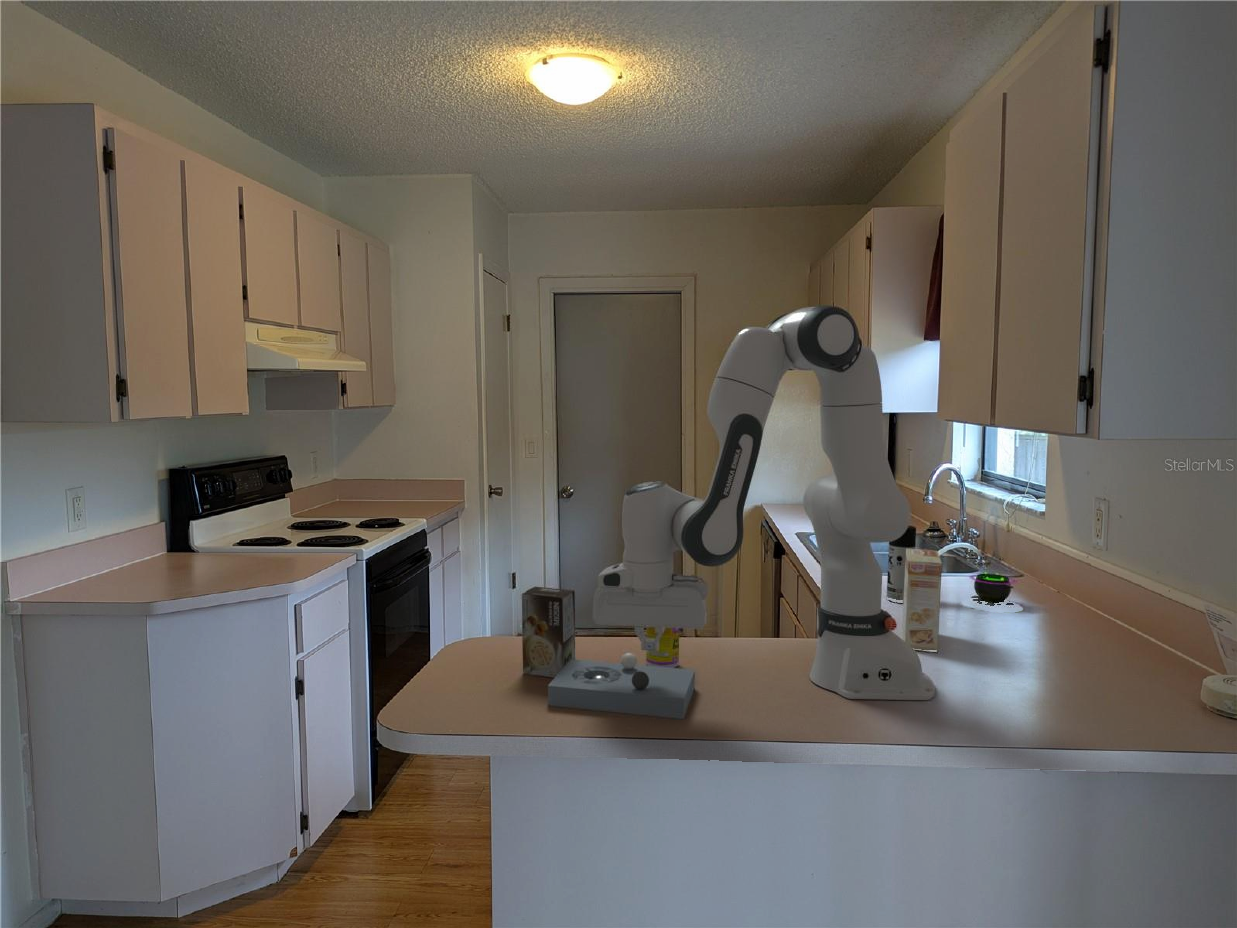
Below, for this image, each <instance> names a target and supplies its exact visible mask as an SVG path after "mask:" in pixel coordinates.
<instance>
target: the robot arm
mask: <svg viewBox="0 0 1237 928" xmlns="http://www.w3.org/2000/svg"><path fill="white" fill-rule="evenodd" d="M795 370H797V371H812V372H813V373H814V374H815V376H816V378H817V381H818V383H819V389H820V390H819V393H820V394H819V405H820V406H819V407H820V411H819V412H820V440H821V441H820V442H821V443H820V444H821V448H822V450H823V452H824V454H825V455H826V456H827V458H828V460H829V462H830V464H831V466H832V470H833V473H834V474H833V475H826V476H821V477H818V478H816V479H814V480H812V481H811V483H809V484H808V485H807V487H806V489H805V490H804V493H803V500H802V502H803V504H802V505H803V509H804V511H805V513H806V515H807V518H808V519H809V520H810V522H811V525H812V528H813V532H814V537H815V541H816V545H817V546H816V547H817V550H818V555H819V561H820V603H819V604H818V606H817V612H816V613H817V614H816V633H817V635H818V637H817V644H816V650H815V655H814V660H813V662H812V666H811V669H810V673H809V679H810V681H812V682H813V684H815V685H817V686H819V687H821V688H823V689H826V690H829V691H832V692H834V693H837V694H839V695H840V696H842V697H844V698H846V699H850V700H851V699H852V700H893V701H894V700H895V701H896V700H897V701H901V700H902V701H930V700H932V699H933V698H934V696H935V694H936V691H935V690H936V688H935V683H934V681H933V680H932V678H931V677H930V676H928V674H926V673H925V672H923V667H922V663H921V660H920V657H919V655H918V653H917V652H916V650H914V649H913V648H912V647H911V646H910V645H908V644H907V643H906V642H905V641H903V638H901V637H900V636H898V635H897V634H896V633H895V632H894V631H895V630H896V629H897V627H898V625H897V623H898V622H897V621H896V619H895V618H894V617H892V615H891V614H890V613H889V612H888V611H887V610H886V609H885V610H883V609H882V594H883V593H882V592H883V591H882V590H883V589H882V588H883V571H882V567H881V565H880V563H879V561H878V560H877V558H876V557H875V553H874V552H873V549H872V545H871V543H877V544H878V543H879V544H880V543H882V544H883V543H889V542H891V541H894V540H896V539H898V538H900V537H901V536H902V535H903V534H904V533H905V531H906V530H907V528H908V526H910V523H911V519H912V510H911V505H910V503H909V500H908V499H907V497H906V496H905V495H904V494H903V492H902V491H901V490H900V488H899V486H898V485H897V482H896V481H895V478H894V474H893V472H892V468H891V467H890V463H889V460H888V455H887V452H886V448H885V437H884V436H885V435H884V418H883V415H884V414H883V392H882V391H883V390H882V381H881V375H880V374H881V373H880V369H879V365H878V361H877V357H876V354H875V353H874V351H873V350H872V349H871V348H870V347H868V346H866V345H863V341H862V339H861V337H860V332H859V329H858V327H857V324H856V321H855V320H854V318H853V316H852V315H851V314H850V312H848V311H847V310H846V309H843V308H842V307H839V306H835V305H830V304H829V305H828V304H822V305H817V306H807V307H803V308H799V309H796V310H795V311H793V312H790V313H785V314H782V315H779V316H778V317H776V318H775V319H774V320H773V321H771V322H770V323H769V324H768V325H767V326H766V327H761V326H751V327H750V326H749V327H745V328H744V329H741V330H740V331H739V332H738V333H737V334H736V335H735V336H734V339H733V340H732V342H731V343H730V345H729V347H728V349H727V351H726V352H725V354H724V356H723V359H722V362H721V363H720V365H719V368H718V371H717V373H716V376H715V378H714V381H713V384H712V386H711V388H710V392H709V397H708V401H707V408H706V415H707V418H708V421H709V422H710V425H711V426H712V428H713V429H714V431H715V434H716V435H717V439H718V445H719V449H718V450H719V453H718V458H717V461H716V465H715V468H714V471H713V475H712V478H711V481H710V485H709V488H708V493H707V494H706V497H705V499H702V498H700V497H696V496H695V497H694V496H691V495H689V494H686V493H684V492H681V491H679V490H676V489H675V488H673V487H672V486H669V485H668V484H667V483H666V482H665V481H659V480H658V481H655V480H654V481H647V482H642V483H639V484H636V485H633V486H632V487H630V488H629V489H627V491H626V492H625V494H624V496H623V501H622V511H621V534H622V537H623V541H624V542H623V543H624V550H623V554H622V562H621V563H620V562H619V563H617V564H614V565H610V566H608V567H606V568H604V569H603V570H602V571H600V573H599V574H598V576H597V585H598V588H597V589H596V590H595V592H594V595H593V599H592V601H593V602H592V620H593V621H594V623H595V624H596V625H597V626H617V627H618V626H619V627H620V626H621V627H634V633H635V635H636V636H637V638H638V639H639V641H640V642H641V643H640V645H641V646H640V647H641V648H640V649H641V651H646V650H648V651H658V650H659V639H660V637H661V636H662V634H663V632H664V630H665V628H679V629H687V630H688V629H689V630H690V629H693V630H700V629H702V628H703V627H704V626H705V625H706V623H707V617H708V616H707V614H708V613H707V606H706V599H707V597H708V584H707V582H706V580H705V579H703V578H702V577H699V575H697V574H690V575H687V574H676V573H675V574H674V555H673V554H674V553H675V552H676V551H684V552H685V553H686V554H687V555H688V556H689V557H690V558H691V559H692V560H693V561H694V562H695V563H697V564H698V565H701V566H705V567H711V568H712V567H720V566H723V565H725V564H726V563H728V562H730V561H732V559H733V558H734V557H735V556H737V554H738V553H739V550H740V549H741V547H742V544H743V540H744V510H745V505H746V502H747V501H746V500H747V497H748V494H749V491H750V486H751V483H752V479H753V476H754V473H755V469H756V464H757V463H758V457H759V454H760V450H761V447H762V440H763V435H764V429H765V426H766V423H767V420H768V417H769V414H770V411H771V408H772V405H773V403H774V400H775V397H776V394H777V392H778V388H779V385H780V382H781V381H782V379H783V377H784V376H785V374H786V372H788V371H795ZM646 627H655V633H658V635H657V636H656V638H655V639H650V638H646V634H645V632H644V630H645V628H646Z"/></svg>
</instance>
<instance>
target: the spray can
mask: <svg viewBox="0 0 1237 928" xmlns="http://www.w3.org/2000/svg"><path fill="white" fill-rule="evenodd" d="M916 539H917V527H916V526H913V525H909V526H908V528H907V530H906V531H905V533H904V534H903V535H902V536H901V537H900V538H898V539H896V540H894V541H891V542H888V559H887V560H888V561H887V581H886V583H887V584H886V598H887V597H888V598H892V599H896V600H903V601H904V579H905V560H906V549H916V548H917V545H916V543H917V540H916Z"/></svg>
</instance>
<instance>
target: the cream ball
mask: <svg viewBox="0 0 1237 928" xmlns="http://www.w3.org/2000/svg"><path fill="white" fill-rule="evenodd" d="M620 663H621V664H622V666H623V667H624V668H625V669H633V668H634V667H635V666H636V665H638V664H637V663H638V659H637V657H636V655H635V654H634V653H632V652H625V653H624V654H622V656H621V657H620Z"/></svg>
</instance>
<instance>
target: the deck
mask: <svg viewBox="0 0 1237 928" xmlns="http://www.w3.org/2000/svg"><path fill="white" fill-rule="evenodd" d="M639 671H642V672H644V673H646V674H647V675H648V677H649V684H648V686H647V687H646V688H644V689H637V688H635V687H634V686H633V684H632V677H633V675H634V674H635V673H636V672H639ZM596 675H602V676H604V677H606V679H603V680H591V679H592V678H593V677H594V676H596ZM695 683H696V670H695V669H692V668H691V669H688V668H678V667H675V668H668V667H656V666H648V665H643V664H636V666H635V667H634V668H633V669H625V668H624V667H623V666H622V664H621V662H607V661H597V660H585V659H576V658H575V659H570V661H569V662H568V663H567V664H566V665H565V666H564V667H563V669H562V670H561V671H560V672H559V673H558V674H557V676H556V677H555V678H552V680H551V681H550V682H549V683H548V685H547V706H548V707H559V708H560V707H561V708H568V709H570V708H571V709H577V710H580V709H581V710H588V711H596V712H597V711H599V712H609V713H616V714H617V713H618V714H629V715H636V716H637V715H638V716H645V717H646V716H649V717H658V718H667V719H676V720H677V719H678V720H685V716H686V714H687V711H688V709H689V706H690V703H691V699H692V698H693V695H694V691H695V688H696V686H695V685H696V684H695Z"/></svg>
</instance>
